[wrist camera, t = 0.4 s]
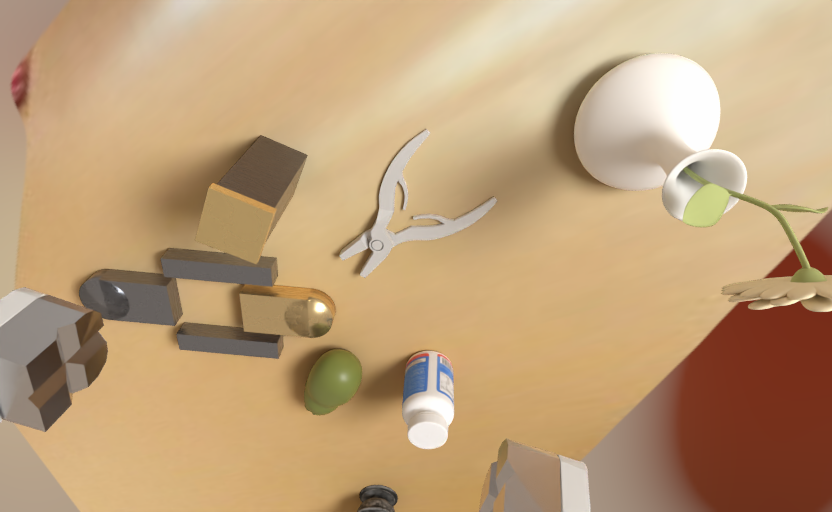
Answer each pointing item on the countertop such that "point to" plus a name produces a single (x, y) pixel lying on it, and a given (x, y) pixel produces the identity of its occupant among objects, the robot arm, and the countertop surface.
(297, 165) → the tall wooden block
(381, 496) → the salt shaker
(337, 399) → the pear
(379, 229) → the pliers
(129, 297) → the grey metal bars
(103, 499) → the countertop surface
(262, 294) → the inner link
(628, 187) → the flower in vase
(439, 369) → the pill bottle
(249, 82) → the countertop surface
